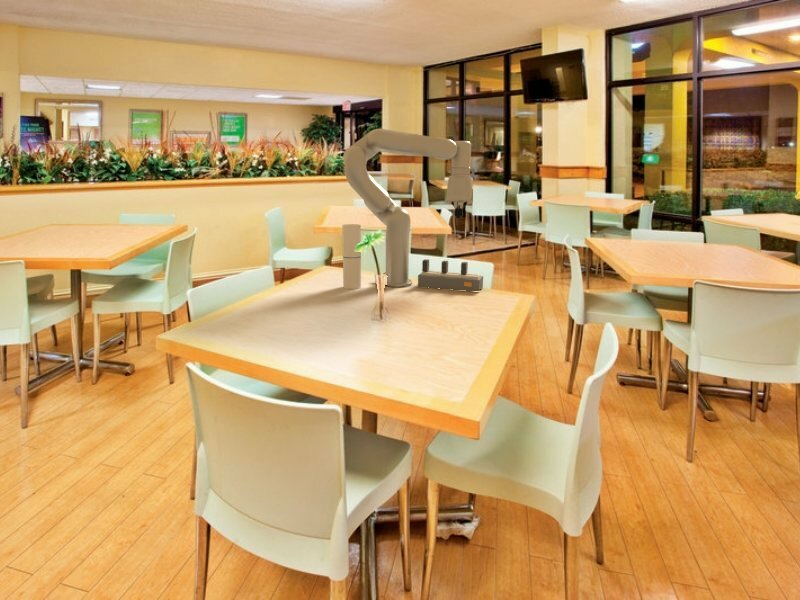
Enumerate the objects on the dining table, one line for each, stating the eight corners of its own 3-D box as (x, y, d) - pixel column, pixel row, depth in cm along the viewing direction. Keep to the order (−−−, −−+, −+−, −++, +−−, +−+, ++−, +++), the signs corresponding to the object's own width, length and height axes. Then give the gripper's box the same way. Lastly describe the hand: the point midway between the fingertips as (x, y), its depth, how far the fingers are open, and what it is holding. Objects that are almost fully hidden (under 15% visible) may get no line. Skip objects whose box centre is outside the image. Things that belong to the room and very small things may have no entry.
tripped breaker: (460, 274, 216) (461, 263, 215) (462, 272, 219) (462, 261, 218) (465, 274, 216) (466, 263, 215) (467, 273, 219) (467, 262, 217)
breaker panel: (417, 287, 221) (417, 272, 219) (423, 283, 228) (423, 269, 227) (478, 292, 213) (479, 277, 211) (482, 288, 221) (483, 273, 219)
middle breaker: (441, 272, 219) (441, 261, 218) (443, 271, 222) (443, 260, 221) (446, 273, 218) (446, 262, 217) (448, 271, 221) (448, 260, 220)
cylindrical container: (345, 289, 216) (344, 226, 210) (342, 285, 223) (340, 224, 217) (362, 288, 218) (362, 226, 212) (359, 284, 225) (358, 224, 218)
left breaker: (422, 271, 221) (422, 260, 220) (424, 269, 224) (424, 259, 223) (427, 271, 221) (427, 260, 220) (429, 270, 223) (429, 259, 222)
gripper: (440, 172, 220) (439, 218, 225) (476, 173, 215) (474, 219, 220) (445, 172, 227) (443, 216, 232) (480, 172, 222) (478, 218, 227)
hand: (458, 217), depth 226 cm, fingers closed
